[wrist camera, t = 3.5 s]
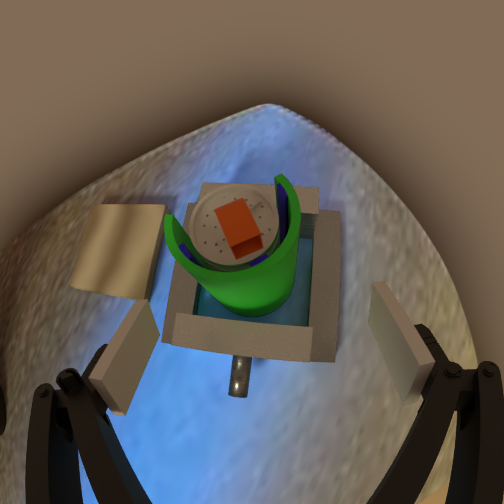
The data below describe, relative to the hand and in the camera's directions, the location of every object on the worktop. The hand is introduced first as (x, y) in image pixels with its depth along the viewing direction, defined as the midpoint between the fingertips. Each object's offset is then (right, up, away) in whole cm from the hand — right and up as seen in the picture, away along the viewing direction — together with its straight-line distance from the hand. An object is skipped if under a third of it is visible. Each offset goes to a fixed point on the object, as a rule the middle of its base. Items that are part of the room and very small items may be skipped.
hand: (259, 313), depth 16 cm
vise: (0, -1, +15) cm, 15 cm away
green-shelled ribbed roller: (0, 0, +16) cm, 16 cm away
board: (-18, +4, +18) cm, 26 cm away
